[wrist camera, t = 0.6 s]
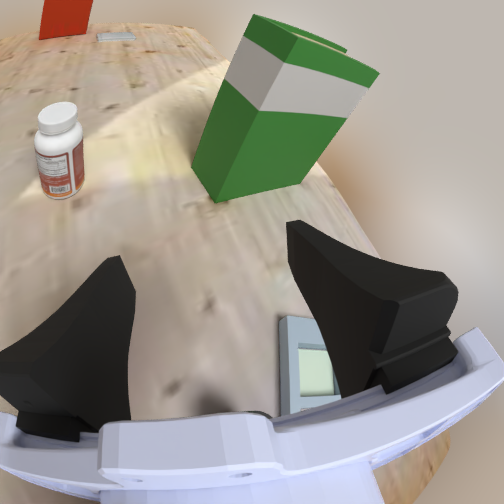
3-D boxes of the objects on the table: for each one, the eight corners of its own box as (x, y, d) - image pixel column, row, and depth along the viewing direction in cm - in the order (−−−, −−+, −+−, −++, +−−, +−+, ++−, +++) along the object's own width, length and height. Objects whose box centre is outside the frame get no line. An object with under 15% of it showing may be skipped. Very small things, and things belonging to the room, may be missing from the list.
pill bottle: (69, 161, 32) (68, 93, 23) (93, 183, 31) (94, 111, 23) (35, 184, 28) (23, 113, 19) (56, 209, 27) (45, 135, 19)
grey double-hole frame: (344, 473, 23) (355, 474, 22) (280, 486, 21) (290, 489, 19) (336, 328, 34) (346, 323, 33) (278, 321, 32) (287, 315, 30)
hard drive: (131, 31, 64) (96, 33, 57) (136, 37, 62) (98, 38, 55) (130, 35, 66) (95, 37, 58) (134, 41, 63) (97, 43, 56)
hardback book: (275, 155, 50) (343, 47, 32) (300, 183, 48) (379, 73, 29) (191, 167, 40) (253, 14, 21) (215, 203, 38) (298, 37, 19)
